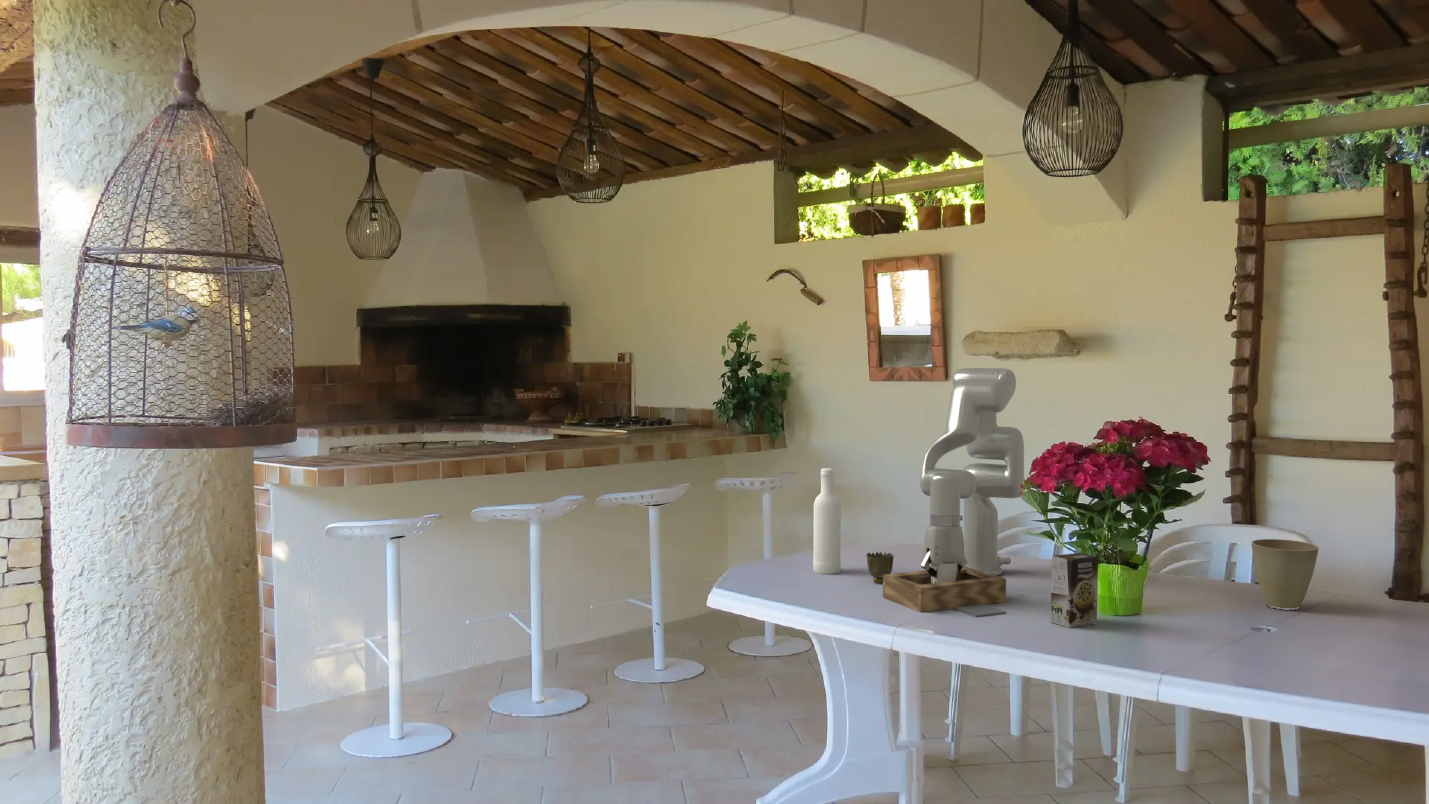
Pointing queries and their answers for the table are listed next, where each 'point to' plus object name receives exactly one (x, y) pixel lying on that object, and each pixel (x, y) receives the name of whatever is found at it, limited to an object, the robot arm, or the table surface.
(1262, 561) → the plant pot
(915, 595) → the crate
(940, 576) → the white tumbler
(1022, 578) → the table surface
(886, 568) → the cup
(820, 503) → the bottle
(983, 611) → the coaster
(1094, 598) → the coffee box
